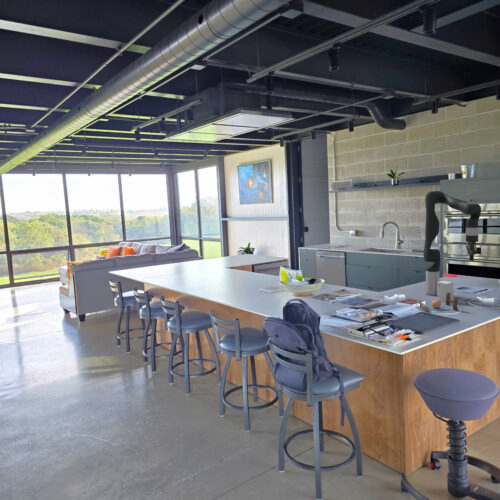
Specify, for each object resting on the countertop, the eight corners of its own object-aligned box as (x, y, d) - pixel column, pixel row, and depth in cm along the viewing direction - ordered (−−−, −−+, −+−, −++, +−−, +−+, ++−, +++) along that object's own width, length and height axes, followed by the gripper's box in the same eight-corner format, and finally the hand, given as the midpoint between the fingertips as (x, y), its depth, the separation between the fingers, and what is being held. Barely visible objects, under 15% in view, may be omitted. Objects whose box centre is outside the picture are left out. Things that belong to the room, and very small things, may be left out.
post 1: (445, 304, 288) (445, 292, 287) (449, 304, 288) (449, 292, 287) (446, 305, 285) (446, 293, 284) (450, 305, 285) (450, 293, 284)
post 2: (452, 309, 275) (452, 297, 274) (456, 309, 275) (456, 297, 274) (453, 310, 273) (454, 298, 272) (458, 310, 273) (458, 298, 272)
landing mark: (423, 305, 288) (423, 304, 288) (443, 304, 287) (443, 304, 287) (430, 310, 275) (430, 310, 275) (451, 310, 274) (451, 309, 274)
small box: (453, 301, 295) (453, 282, 294) (447, 302, 292) (447, 283, 291) (442, 298, 302) (443, 280, 301) (436, 300, 299) (437, 281, 298)
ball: (433, 308, 283) (428, 302, 282) (441, 303, 281) (435, 297, 281) (436, 311, 277) (431, 305, 277) (443, 306, 276) (438, 300, 275)
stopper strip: (416, 304, 292) (416, 300, 292) (419, 304, 292) (419, 300, 291) (425, 312, 272) (425, 308, 272) (428, 312, 272) (428, 308, 272)
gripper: (461, 233, 287) (461, 259, 289) (470, 235, 274) (469, 262, 276) (473, 233, 286) (473, 259, 289) (482, 235, 273) (481, 262, 276)
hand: (471, 260), depth 282 cm, fingers closed
